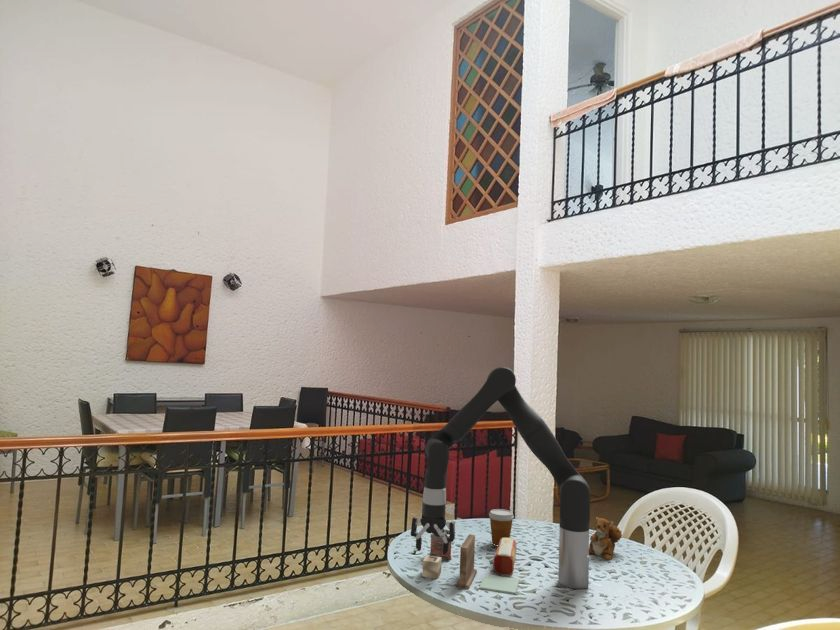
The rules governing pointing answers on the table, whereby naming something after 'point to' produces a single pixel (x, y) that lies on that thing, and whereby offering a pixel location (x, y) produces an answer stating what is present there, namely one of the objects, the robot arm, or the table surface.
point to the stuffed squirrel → (604, 539)
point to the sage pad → (499, 584)
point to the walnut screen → (467, 563)
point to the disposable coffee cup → (500, 524)
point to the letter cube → (431, 566)
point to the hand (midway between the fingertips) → (431, 552)
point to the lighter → (439, 547)
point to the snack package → (505, 556)
